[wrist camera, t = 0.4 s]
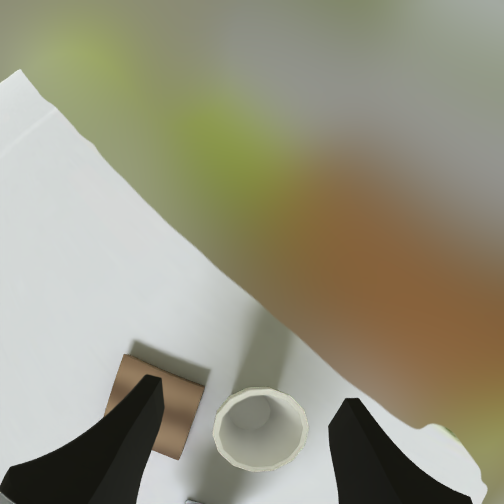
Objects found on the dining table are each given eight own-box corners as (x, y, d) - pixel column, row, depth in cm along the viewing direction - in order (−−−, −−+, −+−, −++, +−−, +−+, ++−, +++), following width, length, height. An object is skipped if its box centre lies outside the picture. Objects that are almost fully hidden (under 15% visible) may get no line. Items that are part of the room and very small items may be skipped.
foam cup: (202, 405, 33) (193, 425, 22) (252, 366, 36) (266, 369, 25) (245, 450, 31) (256, 486, 19) (294, 412, 34) (326, 431, 22)
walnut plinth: (181, 453, 30) (178, 460, 28) (108, 421, 31) (101, 424, 28) (205, 385, 35) (204, 388, 32) (130, 354, 35) (123, 354, 33)
